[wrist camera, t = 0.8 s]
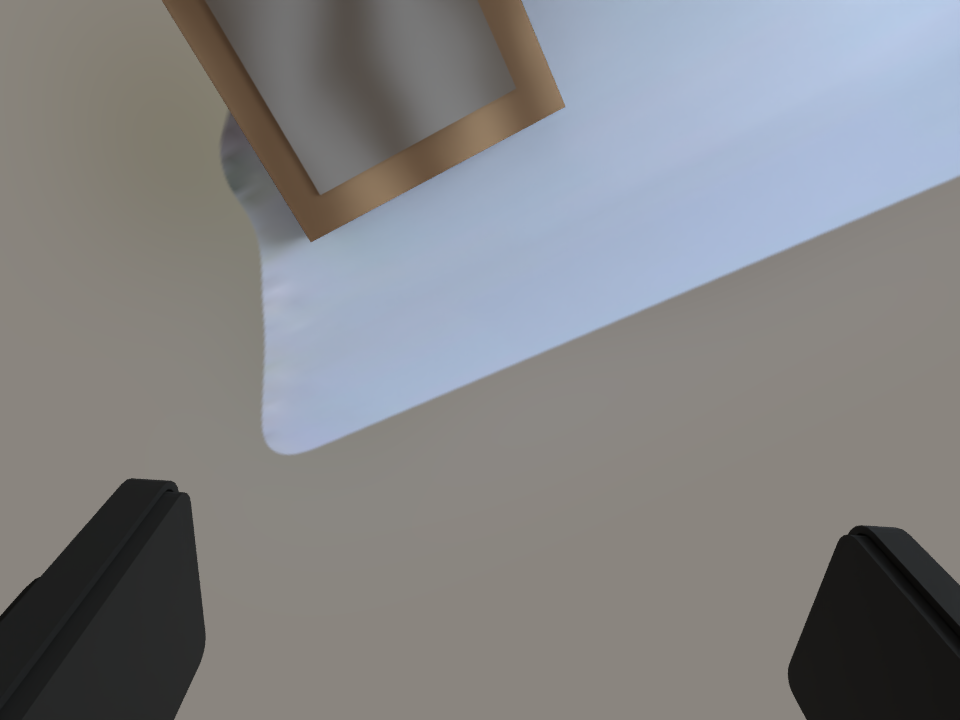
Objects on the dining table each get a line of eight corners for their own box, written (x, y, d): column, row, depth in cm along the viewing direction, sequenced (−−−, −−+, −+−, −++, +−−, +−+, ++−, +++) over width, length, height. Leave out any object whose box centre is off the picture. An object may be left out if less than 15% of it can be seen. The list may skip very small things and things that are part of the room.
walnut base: (425, -200, 31) (420, -245, 27) (554, 106, 37) (566, 106, 33) (165, -35, 34) (125, -54, 30) (324, 229, 39) (309, 243, 35)
